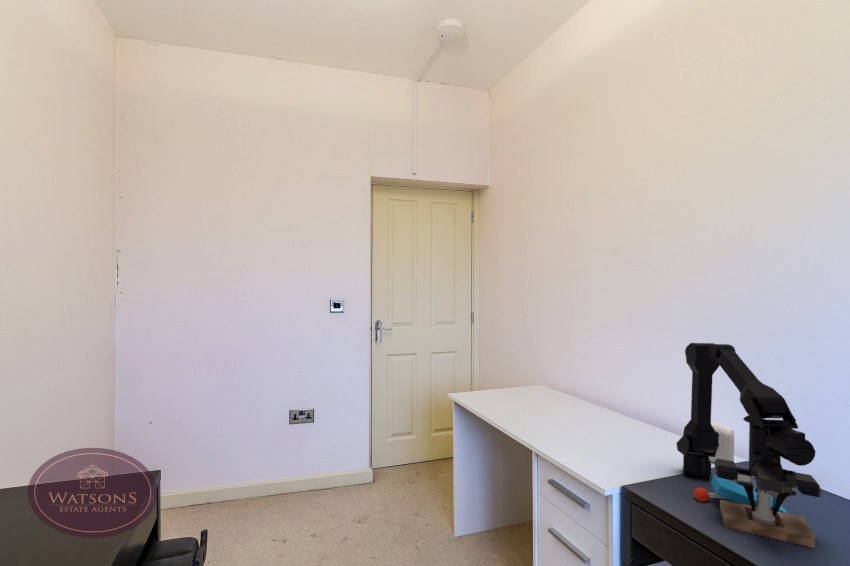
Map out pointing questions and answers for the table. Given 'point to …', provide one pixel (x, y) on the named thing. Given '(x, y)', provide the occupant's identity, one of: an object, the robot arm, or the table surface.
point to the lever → (728, 493)
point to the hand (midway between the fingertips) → (763, 512)
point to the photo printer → (724, 443)
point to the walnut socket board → (788, 528)
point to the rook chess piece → (763, 507)
